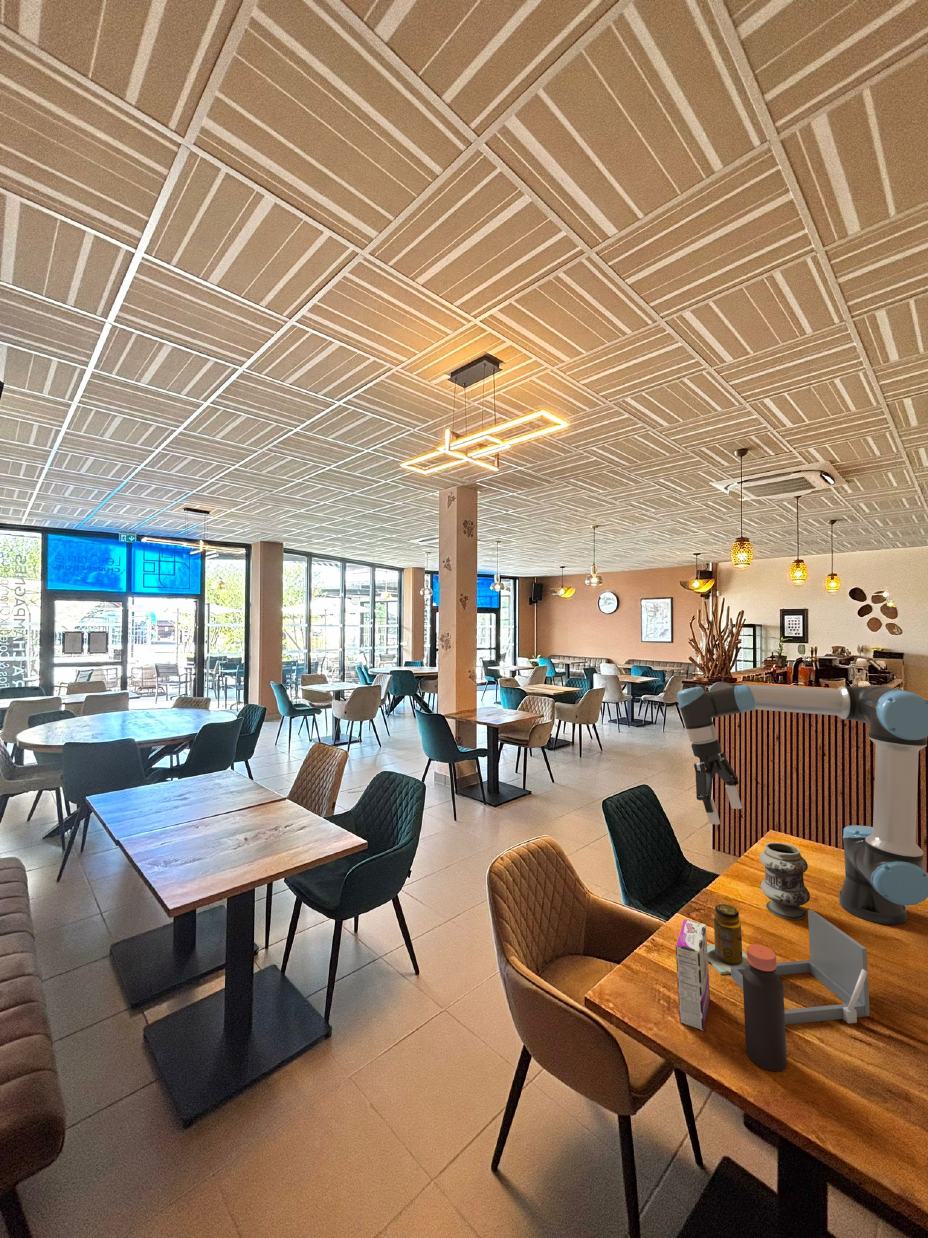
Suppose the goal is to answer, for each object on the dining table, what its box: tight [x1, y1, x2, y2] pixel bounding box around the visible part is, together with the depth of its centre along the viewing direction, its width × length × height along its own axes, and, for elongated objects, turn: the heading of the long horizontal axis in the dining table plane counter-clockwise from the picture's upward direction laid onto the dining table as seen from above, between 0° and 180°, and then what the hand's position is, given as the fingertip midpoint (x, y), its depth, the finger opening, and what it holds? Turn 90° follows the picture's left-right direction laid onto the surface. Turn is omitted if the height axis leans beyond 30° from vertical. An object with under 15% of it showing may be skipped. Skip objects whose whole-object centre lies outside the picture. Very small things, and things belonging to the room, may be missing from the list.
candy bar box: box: [675, 919, 711, 1032], centre depth 109 cm, size 11×5×16 cm, turn 148°
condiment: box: [707, 903, 748, 972], centre depth 125 cm, size 7×8×12 cm
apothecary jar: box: [759, 841, 811, 921], centre depth 146 cm, size 12×12×18 cm
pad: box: [707, 944, 749, 975], centre depth 126 cm, size 10×10×1 cm
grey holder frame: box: [730, 909, 871, 1026], centre depth 112 cm, size 21×16×14 cm
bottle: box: [742, 943, 788, 1072], centre depth 97 cm, size 7×7×20 cm
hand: (726, 816), depth 143 cm, fingers open, 13 cm apart
